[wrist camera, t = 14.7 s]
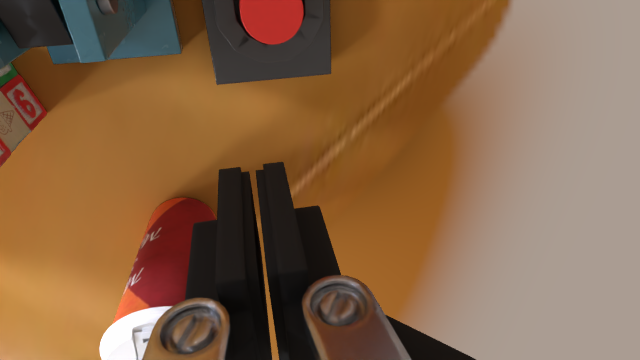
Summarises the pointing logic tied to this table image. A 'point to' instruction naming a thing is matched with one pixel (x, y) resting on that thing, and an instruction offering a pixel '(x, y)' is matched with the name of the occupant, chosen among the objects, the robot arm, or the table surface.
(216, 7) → the control block
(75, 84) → the table surface
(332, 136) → the table surface
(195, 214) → the paper cup
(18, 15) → the lever
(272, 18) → the button
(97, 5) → the bracket
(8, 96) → the stack of blocks
